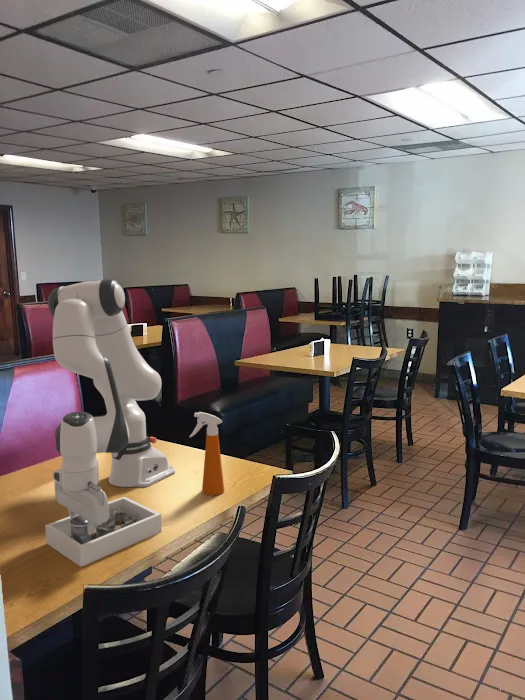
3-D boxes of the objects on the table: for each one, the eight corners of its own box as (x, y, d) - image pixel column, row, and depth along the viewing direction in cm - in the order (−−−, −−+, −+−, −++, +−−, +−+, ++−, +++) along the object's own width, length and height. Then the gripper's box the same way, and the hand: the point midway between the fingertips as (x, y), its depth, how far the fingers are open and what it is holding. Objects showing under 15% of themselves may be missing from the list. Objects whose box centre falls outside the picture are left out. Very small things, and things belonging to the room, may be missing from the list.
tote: (124, 512, 163) (124, 496, 162) (161, 531, 152) (161, 514, 151) (46, 543, 145) (45, 525, 145) (81, 567, 134) (80, 547, 133)
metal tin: (87, 538, 148) (86, 513, 147) (99, 545, 144) (98, 520, 143) (67, 546, 144) (65, 520, 143) (78, 554, 140) (77, 527, 139)
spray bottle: (188, 490, 179) (186, 410, 175) (220, 485, 183) (220, 407, 178) (193, 499, 172) (191, 416, 168) (227, 494, 176) (226, 412, 172)
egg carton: (120, 520, 159) (119, 507, 158) (139, 527, 155) (139, 513, 154) (90, 536, 150) (90, 521, 149) (110, 543, 146) (110, 528, 145)
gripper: (114, 484, 137) (116, 537, 139) (71, 464, 150) (73, 512, 152) (91, 492, 132) (93, 547, 134) (49, 470, 146) (51, 520, 148)
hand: (82, 528), depth 143 cm, fingers closed on metal tin, 6 cm apart
